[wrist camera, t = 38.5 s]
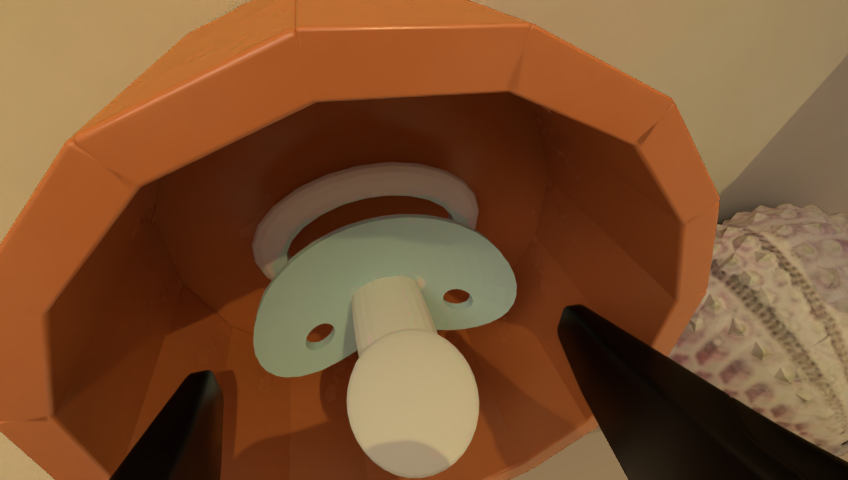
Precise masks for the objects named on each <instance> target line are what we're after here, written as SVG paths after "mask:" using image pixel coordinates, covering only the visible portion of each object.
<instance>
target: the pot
mask: <svg viewBox="0 0 848 480" xmlns="http://www.w3.org/2000/svg"><path fill="white" fill-rule="evenodd" d="M383 162H402V163H419V164H423V165H427V166H431V167H435V168H438V169H442V170H446V171H447V172H449V173H451V174H453V175H454V176H456V177H458V178H460V179H461V180H463V181H464V182H465V183H466V184H467V185H468V186H469V188H470V189H471V190H472V191H473V192H474V194H475V195H476V200H477V204H478V208H479V213H478V218H477V223H476V228H475V230H476V231H478V232H479V233H481V234H482V235H484V236H485V237H487V238H488V239H489V240H490V241H491V242H492V243H493V244H494V245H495V246H496V247H497V248H498V250H499V251H500V252H501V253H502V255H503V257H504V258H505V259H506V260H507V262H508V263H509V265H510V267H511V269H512V271H513V273H514V275H515V280H516V284H517V289H516V298H515V301H514V304H513V305H512V306H511V308H510V309H509V311H508V312H507V313H505V314H504V315H503V316H502V317H500V318H498V319H496V320H494V321H492V322H490V323H487V324H484V325H481V326H478V327H472V328H467V329H456V330H437V333H438V335H439V336H441V337H443V338H445V339H446V340H448V341H449V342H450V343H451V344H452V345H454V346H455V347H456V348H457V349H458V351H459V352H460V353H461V354H462V355H463V356H464V358H465V359H466V361H467V362H468V364H469V366H470V368H471V370H472V372H473V375H474V377H475V381H476V384H477V388H478V395H479V416H478V421H477V426H476V430H475V432H474V435H473V438H472V440H471V442H470V444H469V446H468V447H467V449H466V450H465V452H464V454H463V455H462V456H461V457H460V458H459V459H458V460H457V461H456V462H455V463H454V464H453V465H451V466H450V467H449V468H447V469H446V470H444V471H442V472H440V473H438V474H436V475H433V476H429V477H424V478H406V477H402V476H397V475H394V474H392V473H390V472H388V471H386V470H384V469H383V468H381V467H380V466H378V465H377V464H376V463H374V462H373V461H372V460H371V459H370V458H369V456H368V455H367V454H366V453H365V452H364V451H363V450H362V448H361V446H360V445H359V443H358V442H357V440H356V438H355V436H354V433H353V431H352V429H351V426H350V422H349V418H348V413H347V389H348V384H349V380H350V376H351V373H352V371H353V368H354V366H355V364H356V362H357V360H358V359H359V356H358V350H356V351H355V352H354V353H352V354H351V355H349V356H347V357H346V358H344V359H343V360H341V361H339V362H337V363H335V364H333V365H331V366H329V367H327V368H325V369H323V370H321V371H318V372H314V373H311V374H307V375H304V376H300V377H288V378H287V377H280V376H276V375H274V374H272V373H270V372H267V371H266V370H265V369H264V368H263V367H262V366H261V365H260V363H259V361H258V359H257V357H256V355H255V350H254V344H253V338H254V325H255V319H256V315H257V311H258V306H259V303H260V301H261V298H262V296H263V293H264V291H265V289H266V288H267V286H268V285H269V284H270V282H271V281H272V280H270V279H269V278H267V277H266V276H265V274H264V273H263V272H262V270H261V269H260V268H259V267H258V265H257V264H256V263H255V261H254V255H253V249H252V242H253V239H254V235H255V232H256V229H257V226H258V225H259V223H260V222H261V221H262V219H263V218H264V217H265V216H266V214H267V213H268V212H269V211H270V209H271V208H272V207H273V206H274V205H275V204H277V203H278V202H279V201H281V200H282V199H283V198H285V197H286V196H287V195H289V194H290V193H291V192H293V191H294V190H295V189H297V188H299V187H301V186H303V185H305V184H307V183H309V182H311V181H313V180H315V179H317V178H320V177H322V176H324V175H326V174H330V173H333V172H337V171H340V170H344V169H347V168H351V167H354V166H358V165H367V164H375V163H383ZM719 200H720V197H719V195H718V193H717V191H716V189H715V187H714V184H713V182H712V180H711V178H710V176H709V174H708V172H707V170H706V168H705V165H704V163H703V161H702V159H701V157H700V155H699V153H698V151H697V149H696V146H695V144H694V142H693V140H692V138H691V136H690V134H689V132H688V129H687V127H686V125H685V123H684V121H683V119H682V117H681V115H680V113H679V110H678V108H677V106H676V104H675V103H674V101H673V99H672V98H670V97H668V96H667V95H665V94H663V93H661V92H659V91H657V90H655V89H654V88H652V87H650V86H648V85H646V84H644V83H642V82H641V81H639V80H637V79H635V78H633V77H631V76H629V75H627V74H626V73H624V72H622V71H620V70H618V69H616V68H614V67H613V66H611V65H609V64H607V63H605V62H603V61H601V60H600V59H598V58H596V57H594V56H592V55H590V54H588V53H587V52H585V51H583V50H581V49H579V48H577V47H575V46H574V45H572V44H570V43H568V42H566V41H564V40H562V39H560V38H559V37H557V36H555V35H553V34H551V33H549V32H547V31H546V30H544V29H542V28H540V27H538V26H536V25H534V24H532V23H529V22H526V21H524V20H521V19H518V18H516V17H513V16H510V15H507V14H505V13H502V12H499V11H497V10H494V9H491V8H489V7H486V6H483V5H480V4H478V3H475V2H472V1H470V0H253V1H250V2H248V3H245V4H243V5H241V6H239V7H238V8H236V9H234V10H233V11H231V12H229V13H228V14H226V15H224V16H222V17H220V18H218V19H216V20H214V21H212V22H210V23H208V24H206V25H204V26H202V27H200V28H198V29H196V30H194V31H192V32H190V33H188V34H187V35H186V36H185V37H184V38H182V39H181V40H180V41H179V42H178V43H177V44H176V45H175V46H173V47H172V48H171V49H170V50H169V51H168V52H167V53H165V54H164V55H163V56H162V57H161V58H160V59H159V60H158V61H156V62H155V63H154V64H153V65H152V66H151V67H150V68H149V69H147V70H146V71H145V72H144V73H143V74H142V75H141V76H140V77H138V78H137V79H136V80H135V81H134V82H133V83H132V84H131V85H129V86H128V87H127V88H126V89H125V90H124V91H123V92H121V93H120V94H119V95H118V96H117V97H116V98H115V99H114V100H112V101H111V102H110V103H109V104H108V105H107V106H106V107H105V108H103V109H102V110H101V111H100V112H99V113H98V114H97V115H96V116H94V117H93V118H92V119H91V120H90V121H89V122H88V123H86V124H85V125H84V126H83V127H82V128H81V129H80V130H79V131H77V132H76V133H75V134H74V135H73V136H72V137H71V138H70V139H68V140H67V141H66V142H65V144H64V145H63V147H62V149H61V150H60V152H59V153H58V155H57V156H56V158H55V159H54V161H53V163H52V164H51V166H50V167H49V169H48V170H47V172H46V174H45V175H44V177H43V178H42V180H41V181H40V183H39V184H38V186H37V188H36V189H35V191H34V192H33V194H32V195H31V197H30V199H29V200H28V202H27V203H26V205H25V206H24V208H23V209H22V211H21V213H20V214H19V216H18V217H17V219H16V220H15V222H14V224H13V225H12V227H11V228H10V230H9V231H8V233H7V234H6V236H5V238H4V239H3V241H2V242H1V244H0V432H2V433H3V434H4V435H5V436H6V437H7V438H8V439H10V440H11V441H12V442H13V443H14V444H15V445H16V446H18V447H19V448H20V449H21V450H22V451H23V452H24V453H25V454H27V455H28V456H29V457H30V458H31V459H32V460H33V461H35V462H36V463H37V464H38V465H39V466H40V467H41V468H42V469H44V470H45V471H46V472H47V473H48V474H49V475H50V476H52V477H53V478H54V479H55V480H109V478H110V477H111V476H112V475H113V473H114V472H115V471H116V469H117V468H118V467H119V465H120V464H121V463H122V461H123V460H124V459H125V457H126V456H127V455H128V453H129V452H130V451H131V449H132V448H133V447H134V445H135V444H136V443H137V441H138V440H139V439H140V437H141V436H142V435H143V433H144V432H145V431H146V430H147V428H148V427H149V426H150V424H151V423H152V422H153V420H154V419H155V418H156V416H157V415H158V414H159V412H160V411H161V410H162V408H163V407H164V406H165V404H166V403H167V402H168V400H169V399H170V398H171V396H172V395H173V394H174V392H175V391H176V390H177V388H178V387H179V386H180V384H181V383H182V382H183V381H184V379H185V378H186V377H187V376H188V375H189V374H190V373H193V372H198V371H204V370H211V371H212V372H213V373H214V375H215V377H216V379H217V381H218V384H219V386H220V388H221V390H222V392H223V397H224V412H223V436H222V460H221V477H220V480H510V479H512V478H514V477H516V476H519V475H521V474H523V473H526V472H528V471H530V470H531V469H533V468H535V467H536V466H538V465H539V464H541V463H543V462H544V461H546V460H547V459H549V458H550V457H552V456H553V455H555V454H556V453H558V452H559V451H561V450H563V449H564V448H566V447H567V446H568V445H570V444H572V443H573V442H575V441H576V440H578V439H579V438H581V437H582V436H584V435H586V434H587V433H589V432H590V431H592V430H593V429H595V428H596V427H598V426H599V424H598V423H597V421H596V419H595V417H594V415H593V413H592V411H591V410H590V408H589V406H588V404H587V402H586V400H585V398H584V396H583V394H582V392H581V390H580V388H579V386H578V384H577V381H576V379H575V376H574V374H573V372H572V369H571V367H570V364H569V362H568V360H567V357H566V355H565V352H564V350H563V348H562V345H561V343H560V340H559V338H558V334H557V327H558V324H559V321H560V318H561V315H562V312H563V309H564V308H565V307H566V306H569V305H575V304H582V305H584V306H586V307H587V308H589V309H591V310H592V311H594V312H596V313H597V314H599V315H600V316H602V317H604V318H605V319H607V320H609V321H610V322H612V323H613V324H615V325H617V326H618V327H620V328H622V329H623V330H625V331H626V332H628V333H630V334H631V335H633V336H635V337H636V338H638V339H639V340H641V341H643V342H644V343H646V344H648V345H649V346H651V347H652V348H654V349H656V350H657V351H659V352H661V353H662V354H664V355H665V356H667V357H668V356H669V354H670V353H671V351H672V349H673V348H674V346H675V344H676V343H677V341H678V339H679V338H680V336H681V334H682V333H683V331H684V329H685V328H686V326H687V324H688V323H689V321H690V319H691V318H692V316H693V314H694V313H695V311H696V309H697V308H698V306H699V304H700V303H701V301H702V299H703V298H704V296H705V294H706V290H707V288H708V283H709V276H710V269H711V262H712V255H713V248H714V241H715V235H716V228H717V221H718V214H719V207H720V203H719ZM395 214H421V215H430V216H436V217H441V218H446V219H448V212H447V210H446V209H445V208H444V207H443V206H441V205H439V204H436V203H434V202H432V201H430V200H427V199H422V198H417V197H412V196H381V197H374V198H367V199H362V200H359V201H355V202H352V203H348V204H345V205H342V206H340V207H337V208H335V209H333V210H331V211H329V212H327V213H325V214H323V215H321V216H319V217H318V218H316V219H315V220H313V221H312V222H311V223H309V224H308V225H306V226H305V227H304V228H303V229H302V230H301V231H300V232H299V233H298V234H297V235H296V237H295V238H294V239H293V240H292V242H291V244H290V247H289V249H288V252H289V253H290V255H291V256H292V257H293V256H294V255H296V254H297V253H298V252H300V251H301V250H302V249H304V248H305V247H306V246H308V245H309V244H310V243H312V242H313V241H315V240H317V239H319V238H321V237H322V236H324V235H326V234H328V233H330V232H332V231H334V230H336V229H339V228H341V227H343V226H346V225H349V224H352V223H355V222H358V221H362V220H365V219H370V218H374V217H380V216H386V215H395ZM469 295H470V294H469V293H468V292H466V291H464V290H460V289H452V290H449V291H447V292H446V293H445V294H444V296H443V299H444V300H446V301H447V302H450V303H455V304H458V303H463V302H465V301H467V300H468V298H469ZM332 330H333V326H332V325H331V324H327V323H325V324H320V325H318V326H316V327H315V328H314V329H312V330H311V332H310V333H309V334H308V336H307V338H306V339H307V340H308V341H309V342H319V341H321V340H323V339H325V338H326V337H327V336H328V335H329V334H330V333H331V332H332Z"/></svg>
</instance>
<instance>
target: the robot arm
mask: <svg viewBox="0 0 848 480" xmlns="http://www.w3.org/2000/svg"><path fill="white" fill-rule="evenodd" d="M557 334H558V338H559V340H560V343H561V345H562V348H563V350H564V352H565V355H566V357H567V360H568V362H569V364H570V367H571V369H572V372H573V374H574V376H575V379H576V381H577V384H578V386H579V388H580V390H581V392H582V394H583V396H584V398H585V400H586V402H587V404H588V406H589V408H590V410H591V411H592V413H593V415H594V417H595V419H596V421H597V423H598V424H599V426H600V428H601V430H602V432H603V434H604V435H605V437H606V439H607V441H608V443H609V445H610V447H611V448H612V450H613V452H614V454H615V456H616V458H617V459H618V461H619V463H620V465H621V467H622V469H623V470H624V472H625V474H626V476H627V478H628V480H848V462H846V461H845V460H843V459H841V458H839V457H837V456H835V455H833V454H832V453H830V452H828V451H826V450H824V449H822V448H820V447H819V446H817V445H815V444H813V443H811V442H809V441H808V440H806V439H804V438H802V437H800V436H799V435H797V434H795V433H793V432H791V431H790V430H788V429H786V428H784V427H782V426H781V425H779V424H777V423H775V422H774V421H772V420H770V419H769V418H767V417H765V416H764V415H762V414H760V413H759V412H757V411H755V410H753V409H752V408H750V407H749V406H747V405H745V404H744V403H742V402H740V401H739V400H737V399H736V398H734V397H730V395H729V394H727V393H726V392H724V391H722V390H721V389H719V388H717V387H716V386H714V385H713V384H711V383H709V382H708V381H706V380H704V379H703V378H701V377H700V376H698V375H696V374H695V373H693V372H691V371H690V370H688V369H687V368H685V367H683V366H682V365H680V364H678V363H677V362H675V361H674V360H672V359H670V358H669V357H667V356H665V355H664V354H662V353H661V352H659V351H657V350H656V349H654V348H652V347H651V346H649V345H648V344H646V343H644V342H643V341H641V340H639V339H638V338H636V337H635V336H633V335H631V334H630V333H628V332H626V331H625V330H623V329H622V328H620V327H618V326H617V325H615V324H613V323H612V322H610V321H609V320H607V319H605V318H604V317H602V316H600V315H599V314H597V313H596V312H594V311H592V310H591V309H589V308H587V307H586V306H584V305H582V304H575V305H569V306H566V307H565V308H564V309H563V312H562V315H561V318H560V321H559V324H558V327H557ZM223 412H224V397H223V392H222V390H221V388H220V386H219V384H218V381H217V379H216V377H215V375H214V373H213V372H212V371H211V370H204V371H198V372H193V373H190V374H189V375H188V376H187V377H186V378H185V379H184V381H183V382H182V383H181V384H180V386H179V387H178V388H177V390H176V391H175V392H174V394H173V395H172V396H171V398H170V399H169V400H168V402H167V403H166V404H165V406H164V407H163V408H162V410H161V411H160V412H159V414H158V415H157V416H156V418H155V419H154V420H153V422H152V423H151V424H150V426H149V427H148V428H147V430H146V431H145V432H144V433H143V435H142V436H141V437H140V439H139V440H138V441H137V443H136V444H135V445H134V447H133V448H132V449H131V451H130V452H129V453H128V455H127V456H126V457H125V459H124V460H123V461H122V463H121V464H120V465H119V467H118V468H117V469H116V471H115V472H114V473H113V475H112V476H111V477H110V478H109V480H220V477H221V460H222V436H223Z"/></svg>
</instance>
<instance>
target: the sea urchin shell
mask: <svg viewBox="0 0 848 480" xmlns="http://www.w3.org/2000/svg"><path fill="white" fill-rule="evenodd" d="M668 357H669V358H670V359H672V360H674V361H675V362H677V363H678V364H680V365H682V366H683V367H685V368H687V369H688V370H690V371H691V372H693V373H695V374H696V375H698V376H700V377H701V378H703V379H704V380H706V381H708V382H709V383H711V384H713V385H714V386H716V387H717V388H719V389H721V390H722V391H724V392H726V393H727V394H729V395H730V397H734V398H736V399H737V400H739V401H740V402H742V403H744V404H745V405H747V406H749V407H750V408H752V409H753V410H755V411H757V412H759V413H760V414H762V415H764V416H765V417H767V418H769V419H770V420H772V421H774V422H775V423H777V424H779V425H781V426H782V427H784V428H786V429H788V430H790V431H791V432H793V433H795V434H797V435H799V436H800V437H802V438H804V439H806V440H808V441H809V442H811V443H813V444H815V445H817V446H819V447H820V448H822V449H824V450H826V451H828V452H830V453H832V454H833V455H835V456H837V457H839V456H842V455H844V454H846V453H847V452H848V218H847V216H846V215H845V213H842V214H840V213H834V214H828V213H825V212H823V211H821V210H820V209H819V208H817V207H816V206H814V205H808V206H805V207H802V208H799V207H797V206H794V205H792V204H790V203H787V204H784V203H783V204H782V205H780V206H778V207H776V208H773V209H772V208H769V207H765V206H762V205H760V206H759V207H757V208H756V209H755V210H753V211H752V212H743V211H742V212H741V213H736V214H735V215H734V216H733V217H732V218H731V219H730V220H724V222H723V223H722V225H719V224H717V228H716V235H715V241H714V248H713V255H712V262H711V269H710V276H709V283H708V288H707V290H706V294H705V296H704V298H703V299H702V301H701V303H700V304H699V306H698V308H697V309H696V311H695V313H694V314H693V316H692V318H691V319H690V321H689V323H688V324H687V326H686V328H685V329H684V331H683V333H682V334H681V336H680V338H679V339H678V341H677V343H676V344H675V346H674V348H673V349H672V351H671V353H670V354H669V356H668Z"/></svg>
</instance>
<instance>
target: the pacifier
mask: <svg viewBox="0 0 848 480" xmlns="http://www.w3.org/2000/svg"><path fill="white" fill-rule="evenodd" d="M381 196H412V197H417V198H422V199H427V200H430V201H432V202H434V203H436V204H439V205H441V206H443V207H444V208H445V209H446V210H447V212H448V219H446V218H441V217H436V216H430V215H421V214H395V215H386V216H380V217H374V218H370V219H365V220H362V221H358V222H355V223H352V224H349V225H346V226H343V227H341V228H339V229H336V230H334V231H332V232H330V233H328V234H326V235H324V236H322V237H321V238H319V239H317V240H315V241H313V242H312V243H310V244H309V245H308V246H306V247H305V248H304V249H302V250H301V251H300V252H298V253H297V254H296V255H294V256H293V257H292V256H291V255H290V253H289V252H288V249H289V247H290V244H291V242H292V240H293V239H294V238H295V237H296V235H297V234H298V233H299V232H300V231H301V230H302V229H303V228H304V227H305V226H306V225H308V224H309V223H311V222H312V221H313V220H315V219H316V218H318V217H319V216H321V215H323V214H325V213H327V212H329V211H331V210H333V209H335V208H337V207H340V206H342V205H345V204H348V203H352V202H355V201H359V200H362V199H367V198H374V197H381ZM478 213H479V208H478V204H477V200H476V195H475V194H474V192H473V191H472V190H471V189H470V188H469V186H468V185H467V184H466V183H465V182H464V181H463V180H461V179H460V178H458V177H456V176H454V175H453V174H451V173H449V172H447V171H446V170H442V169H438V168H435V167H431V166H427V165H423V164H419V163H402V162H383V163H375V164H367V165H358V166H354V167H351V168H347V169H344V170H340V171H337V172H333V173H330V174H326V175H324V176H322V177H320V178H317V179H315V180H313V181H311V182H309V183H307V184H305V185H303V186H301V187H299V188H297V189H295V190H294V191H293V192H291V193H290V194H289V195H287V196H286V197H285V198H283V199H282V200H281V201H279V202H278V203H277V204H275V205H274V206H273V207H272V208H271V209H270V211H269V212H268V213H267V214H266V216H265V217H264V218H263V219H262V221H261V222H260V223H259V225H258V226H257V229H256V232H255V235H254V239H253V242H252V249H253V255H254V261H255V263H256V264H257V265H258V267H259V268H260V269H261V270H262V272H263V273H264V274H265V276H266V277H267V278H269V279H270V280H272V281H271V282H270V284H269V285H268V286H267V288H266V289H265V291H264V293H263V296H262V298H261V301H260V303H259V306H258V311H257V315H256V319H255V325H254V338H253V344H254V350H255V355H256V357H257V359H258V361H259V363H260V365H261V366H262V367H263V368H264V369H265V370H266V371H267V372H270V373H272V374H274V375H276V376H280V377H287V378H288V377H300V376H304V375H307V374H311V373H314V372H318V371H321V370H323V369H325V368H327V367H329V366H331V365H333V364H335V363H337V362H339V361H341V360H343V359H344V358H346V357H347V356H349V355H351V354H352V353H354V352H355V351H356V350H358V356H359V359H358V360H357V362H356V364H355V366H354V368H353V371H352V373H351V376H350V380H349V384H348V389H347V413H348V418H349V422H350V426H351V429H352V431H353V433H354V436H355V438H356V440H357V442H358V443H359V445H360V446H361V448H362V450H363V451H364V452H365V453H366V454H367V455H368V456H369V458H370V459H371V460H372V461H373V462H374V463H376V464H377V465H378V466H380V467H381V468H383V469H384V470H386V471H388V472H390V473H392V474H394V475H397V476H402V477H406V478H424V477H429V476H433V475H436V474H438V473H440V472H442V471H444V470H446V469H447V468H449V467H450V466H451V465H453V464H454V463H455V462H456V461H457V460H458V459H459V458H460V457H461V456H462V455H463V454H464V452H465V450H466V449H467V447H468V446H469V444H470V442H471V440H472V438H473V435H474V432H475V430H476V426H477V421H478V416H479V395H478V388H477V384H476V381H475V377H474V375H473V372H472V370H471V368H470V366H469V364H468V362H467V361H466V359H465V358H464V356H463V355H462V354H461V353H460V352H459V351H458V349H457V348H456V347H455V346H454V345H452V344H451V343H450V342H449V341H448V340H446V339H445V338H443V337H441V336H439V335H438V333H437V330H456V329H467V328H472V327H478V326H481V325H484V324H487V323H490V322H492V321H494V320H496V319H498V318H500V317H502V316H503V315H504V314H505V313H507V312H508V311H509V309H510V308H511V306H512V305H513V304H514V301H515V298H516V289H517V284H516V280H515V275H514V273H513V271H512V269H511V267H510V265H509V263H508V262H507V260H506V259H505V258H504V257H503V255H502V253H501V252H500V251H499V250H498V248H497V247H496V246H495V245H494V244H493V243H492V242H491V241H490V240H489V239H488V238H487V237H485V236H484V235H482V234H481V233H479V232H478V231H476V230H475V228H476V223H477V218H478ZM452 289H460V290H464V291H466V292H468V293H469V294H470V295H469V298H468V300H467V301H465V302H463V303H458V304H455V303H450V302H447V301H446V300H444V299H443V296H444V294H445V293H446V292H447V291H449V290H452ZM325 323H327V324H331V325H332V326H333V330H332V332H331V333H330V334H329V335H328V336H327V337H326V338H325V339H323V340H321V341H319V342H309V341H308V340H307V339H306V338H307V336H308V334H309V333H310V332H311V330H312V329H314V328H315V327H316V326H318V325H320V324H325Z"/></svg>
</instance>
